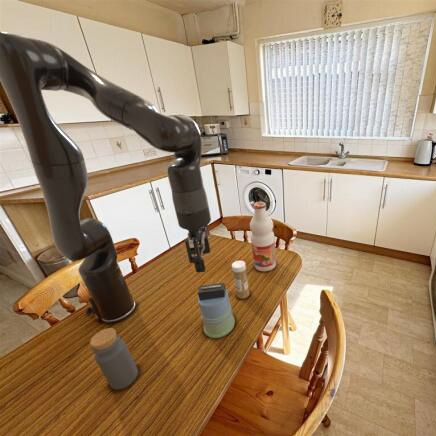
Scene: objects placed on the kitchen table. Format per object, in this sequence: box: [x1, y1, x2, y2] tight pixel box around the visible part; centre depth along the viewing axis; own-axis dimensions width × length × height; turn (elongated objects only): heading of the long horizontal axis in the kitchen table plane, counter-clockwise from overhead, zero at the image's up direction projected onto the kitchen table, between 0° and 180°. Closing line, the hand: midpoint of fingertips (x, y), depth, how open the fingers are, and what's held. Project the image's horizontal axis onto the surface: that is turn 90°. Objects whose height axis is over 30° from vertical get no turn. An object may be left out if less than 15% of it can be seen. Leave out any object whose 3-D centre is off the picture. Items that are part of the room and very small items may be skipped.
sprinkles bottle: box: [231, 260, 250, 300], centre depth 82 cm, size 5×5×14 cm
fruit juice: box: [249, 201, 277, 272], centre depth 95 cm, size 9×9×28 cm
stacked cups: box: [197, 289, 236, 339], centre depth 71 cm, size 9×9×12 cm
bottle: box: [89, 327, 139, 391], centre depth 57 cm, size 6×6×15 cm
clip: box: [197, 282, 227, 301], centre depth 68 cm, size 7×3×3 cm, turn 99°
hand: (203, 261), depth 64 cm, fingers open, 8 cm apart
